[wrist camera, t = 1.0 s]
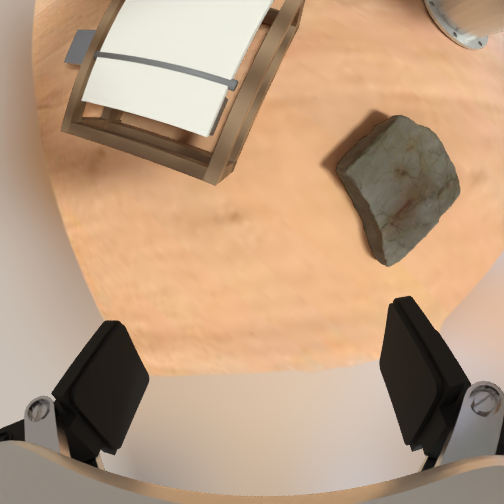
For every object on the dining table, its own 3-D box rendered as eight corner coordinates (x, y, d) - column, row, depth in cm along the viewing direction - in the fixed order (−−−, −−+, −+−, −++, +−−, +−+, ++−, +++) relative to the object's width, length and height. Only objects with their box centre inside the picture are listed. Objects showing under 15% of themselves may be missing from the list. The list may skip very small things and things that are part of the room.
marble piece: (378, 261, 37) (388, 275, 33) (311, 183, 33) (316, 189, 30) (456, 186, 31) (472, 193, 27) (400, 101, 28) (414, 98, 24)
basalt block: (97, 37, 26) (77, 29, 21) (122, 39, 26) (103, 30, 22) (84, 67, 28) (63, 62, 23) (108, 70, 28) (88, 65, 24)
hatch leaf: (154, -9, 19) (137, -26, 14) (279, 15, 20) (280, -5, 16) (103, 102, 25) (77, 99, 20) (222, 138, 26) (211, 138, 21)
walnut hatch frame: (167, -4, 23) (136, -38, 14) (298, 27, 25) (307, -12, 15) (109, 128, 31) (60, 131, 22) (232, 171, 33) (215, 185, 23)
